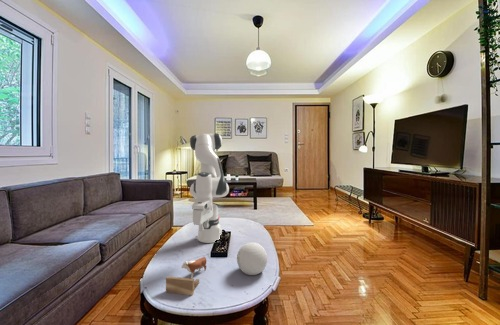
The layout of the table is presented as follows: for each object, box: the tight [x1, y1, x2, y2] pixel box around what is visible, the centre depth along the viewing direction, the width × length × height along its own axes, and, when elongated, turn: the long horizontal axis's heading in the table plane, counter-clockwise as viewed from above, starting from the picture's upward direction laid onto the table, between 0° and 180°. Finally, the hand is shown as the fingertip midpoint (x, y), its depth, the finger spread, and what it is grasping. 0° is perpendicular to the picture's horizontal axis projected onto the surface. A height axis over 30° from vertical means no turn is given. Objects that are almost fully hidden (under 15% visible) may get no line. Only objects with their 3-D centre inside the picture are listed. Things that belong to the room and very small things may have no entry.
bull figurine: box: [180, 256, 208, 279], centre depth 115 cm, size 4×13×8 cm, turn 135°
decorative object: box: [236, 241, 268, 276], centre depth 117 cm, size 15×15×15 cm
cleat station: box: [165, 276, 200, 296], centre depth 104 cm, size 10×12×6 cm
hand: (203, 228), depth 126 cm, fingers open, 5 cm apart
